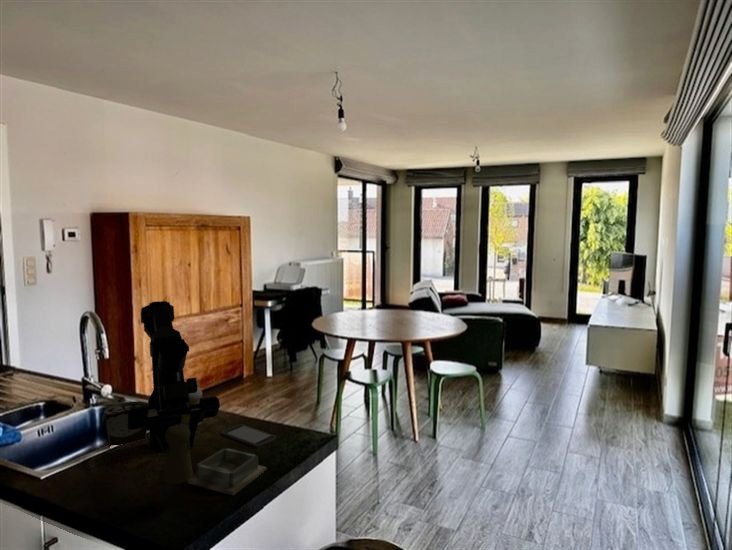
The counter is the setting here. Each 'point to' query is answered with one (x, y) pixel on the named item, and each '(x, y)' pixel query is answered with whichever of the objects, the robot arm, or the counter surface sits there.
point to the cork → (177, 455)
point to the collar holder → (227, 471)
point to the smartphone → (248, 435)
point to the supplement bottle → (193, 399)
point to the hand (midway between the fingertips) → (178, 449)
